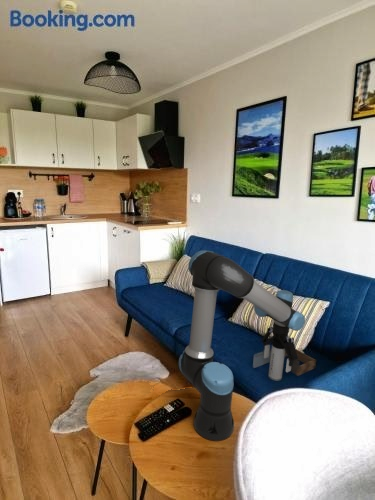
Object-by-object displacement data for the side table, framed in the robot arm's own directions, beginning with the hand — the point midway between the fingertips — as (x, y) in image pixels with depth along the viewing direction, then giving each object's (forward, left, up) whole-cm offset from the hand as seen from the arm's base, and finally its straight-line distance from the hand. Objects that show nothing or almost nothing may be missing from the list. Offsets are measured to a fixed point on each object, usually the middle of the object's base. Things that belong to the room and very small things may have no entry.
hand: (276, 364), depth 155 cm
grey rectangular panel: (+2, +11, -6) cm, 12 cm away
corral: (+18, +3, -7) cm, 19 cm away
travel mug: (0, 0, -7) cm, 7 cm away
